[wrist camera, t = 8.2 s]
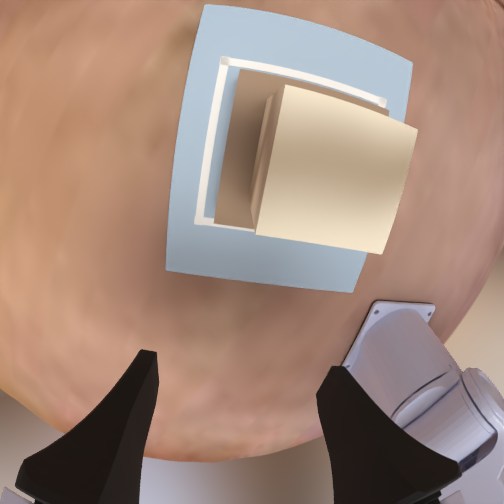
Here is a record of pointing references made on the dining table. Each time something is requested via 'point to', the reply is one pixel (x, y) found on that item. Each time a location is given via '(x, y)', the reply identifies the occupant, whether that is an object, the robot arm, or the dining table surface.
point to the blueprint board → (216, 130)
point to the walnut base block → (254, 140)
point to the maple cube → (328, 171)
